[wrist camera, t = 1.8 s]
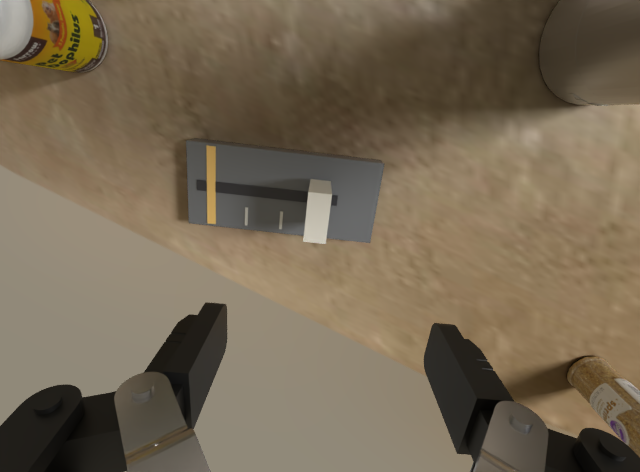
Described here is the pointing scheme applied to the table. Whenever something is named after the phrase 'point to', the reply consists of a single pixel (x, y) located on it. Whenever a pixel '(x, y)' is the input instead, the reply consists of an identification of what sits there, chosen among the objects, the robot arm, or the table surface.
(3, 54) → the supplement bottle
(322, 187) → the block
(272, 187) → the console
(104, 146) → the table surface
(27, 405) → the robot arm
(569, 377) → the sprinkles bottle
